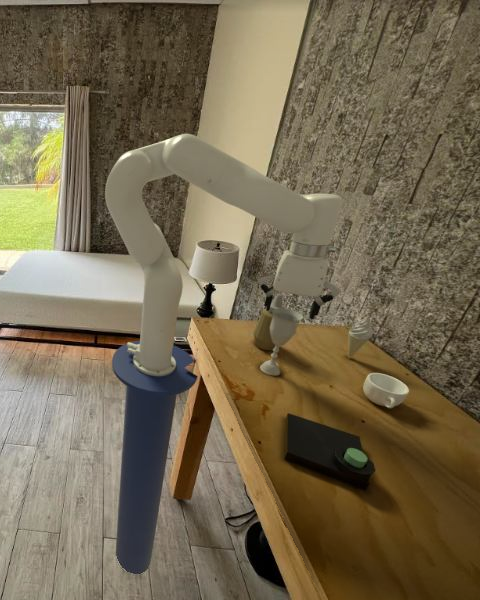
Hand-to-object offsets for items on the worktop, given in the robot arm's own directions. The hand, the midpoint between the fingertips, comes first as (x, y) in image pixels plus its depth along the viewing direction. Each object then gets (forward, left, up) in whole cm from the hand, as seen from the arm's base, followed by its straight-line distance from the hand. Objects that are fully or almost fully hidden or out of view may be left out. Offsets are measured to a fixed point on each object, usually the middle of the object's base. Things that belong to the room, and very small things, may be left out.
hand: (288, 312), depth 82 cm
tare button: (+14, -29, -15) cm, 35 cm away
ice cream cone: (+20, +18, -19) cm, 33 cm away
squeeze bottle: (-2, +13, -19) cm, 23 cm away
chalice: (0, 0, -19) cm, 19 cm away
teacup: (+24, -1, -19) cm, 30 cm away
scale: (+10, -25, -19) cm, 33 cm away
